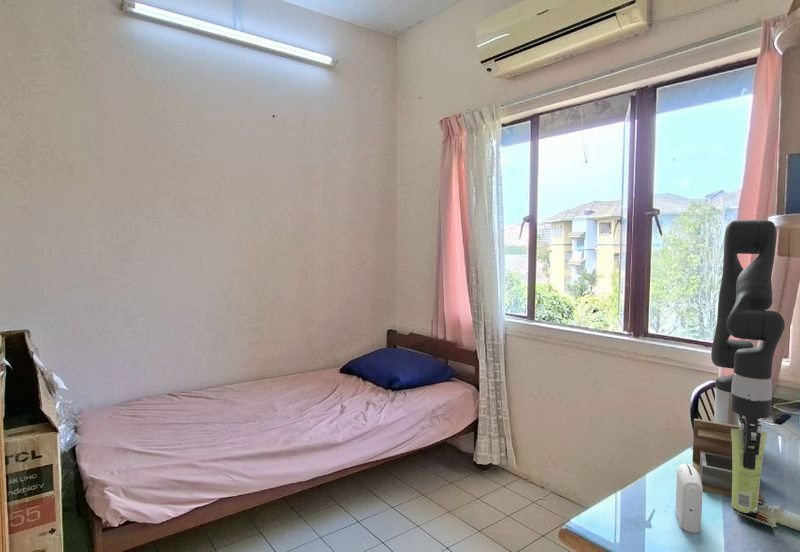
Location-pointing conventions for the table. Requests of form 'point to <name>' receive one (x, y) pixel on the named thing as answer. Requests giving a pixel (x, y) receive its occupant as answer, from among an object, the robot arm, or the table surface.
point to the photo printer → (689, 498)
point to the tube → (745, 474)
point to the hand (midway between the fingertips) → (747, 463)
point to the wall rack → (714, 456)
